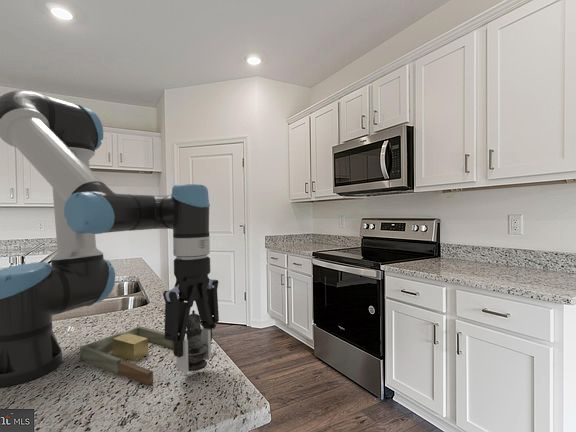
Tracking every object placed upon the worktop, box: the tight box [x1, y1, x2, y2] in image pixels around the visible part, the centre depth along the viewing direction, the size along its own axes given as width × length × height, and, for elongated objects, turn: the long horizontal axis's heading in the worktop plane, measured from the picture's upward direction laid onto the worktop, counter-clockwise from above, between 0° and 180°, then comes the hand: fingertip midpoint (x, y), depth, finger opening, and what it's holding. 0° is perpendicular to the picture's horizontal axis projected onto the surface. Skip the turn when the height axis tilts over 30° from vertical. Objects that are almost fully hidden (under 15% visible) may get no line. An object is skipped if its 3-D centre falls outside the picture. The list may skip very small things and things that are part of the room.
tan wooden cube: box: [122, 336, 149, 361], centre depth 80 cm, size 4×4×4 cm
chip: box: [112, 333, 137, 358], centre depth 82 cm, size 4×4×4 cm
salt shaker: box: [185, 309, 208, 372], centre depth 70 cm, size 6×6×12 cm
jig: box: [79, 325, 174, 386], centre depth 79 cm, size 16×25×3 cm, turn 60°
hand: (194, 363), depth 70 cm, fingers closed on salt shaker, 6 cm apart
